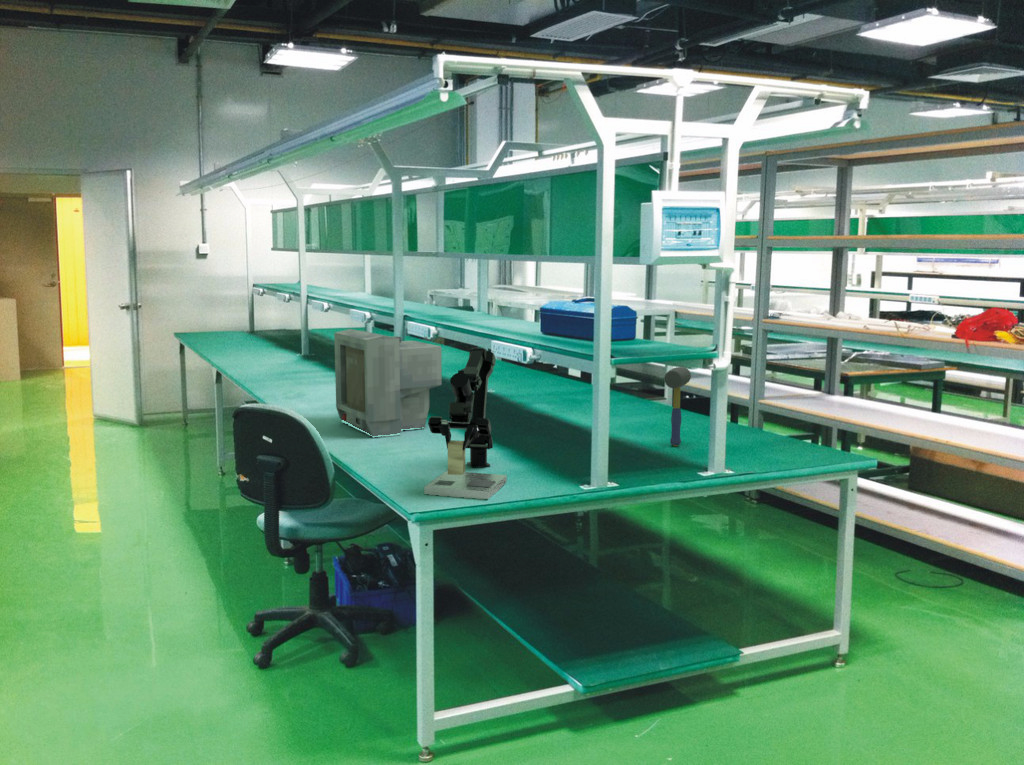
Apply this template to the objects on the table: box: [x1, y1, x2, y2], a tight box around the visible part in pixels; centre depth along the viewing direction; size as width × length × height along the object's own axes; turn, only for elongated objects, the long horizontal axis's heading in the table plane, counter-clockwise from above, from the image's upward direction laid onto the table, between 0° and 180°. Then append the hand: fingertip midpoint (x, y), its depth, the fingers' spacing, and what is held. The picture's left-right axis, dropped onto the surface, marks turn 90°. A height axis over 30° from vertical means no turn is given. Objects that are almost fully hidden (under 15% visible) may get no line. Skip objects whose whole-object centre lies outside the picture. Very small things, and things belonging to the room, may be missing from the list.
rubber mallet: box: [663, 366, 692, 447], centre depth 326 cm, size 12×8×30 cm, turn 152°
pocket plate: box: [423, 470, 508, 500], centre depth 266 cm, size 20×20×3 cm
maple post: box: [447, 439, 466, 475], centre depth 261 cm, size 4×4×10 cm
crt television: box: [333, 328, 443, 436], centre depth 359 cm, size 39×36×40 cm
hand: (455, 449), depth 259 cm, fingers closed on maple post, 4 cm apart
